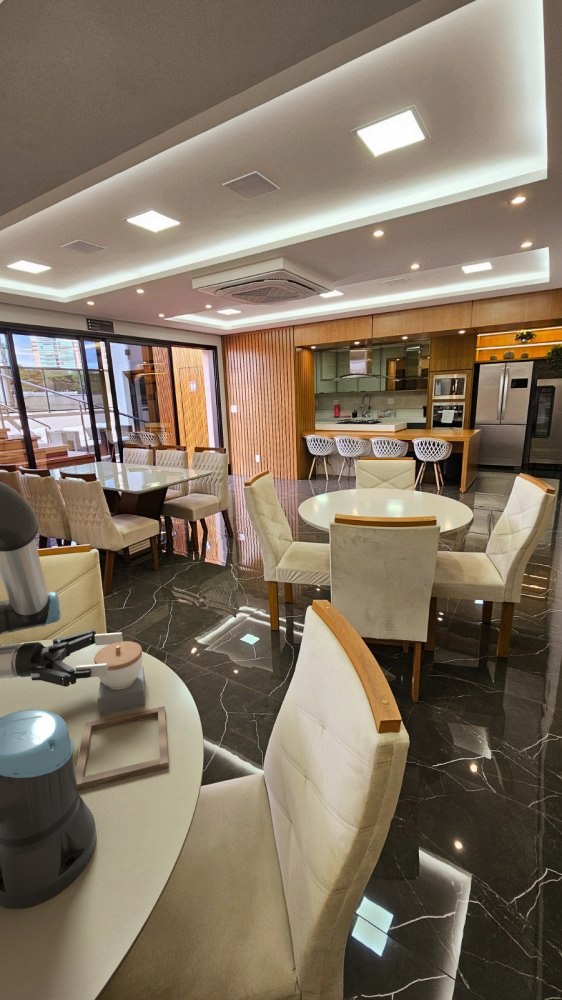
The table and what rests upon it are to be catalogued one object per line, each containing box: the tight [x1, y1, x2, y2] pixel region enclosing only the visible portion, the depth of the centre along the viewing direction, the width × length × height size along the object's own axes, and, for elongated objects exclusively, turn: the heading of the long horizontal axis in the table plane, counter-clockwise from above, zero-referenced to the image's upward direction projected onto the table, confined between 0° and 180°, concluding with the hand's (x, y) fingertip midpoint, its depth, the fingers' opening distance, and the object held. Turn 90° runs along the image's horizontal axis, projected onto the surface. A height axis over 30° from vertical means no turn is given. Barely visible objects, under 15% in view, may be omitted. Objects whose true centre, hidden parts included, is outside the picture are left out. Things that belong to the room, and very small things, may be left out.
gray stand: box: [97, 665, 146, 715], centre depth 106 cm, size 10×10×4 cm
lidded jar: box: [93, 640, 143, 690], centre depth 104 cm, size 11×11×9 cm
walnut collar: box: [75, 705, 169, 791], centre depth 90 cm, size 17×17×1 cm
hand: (115, 652), depth 104 cm, fingers open, 13 cm apart
